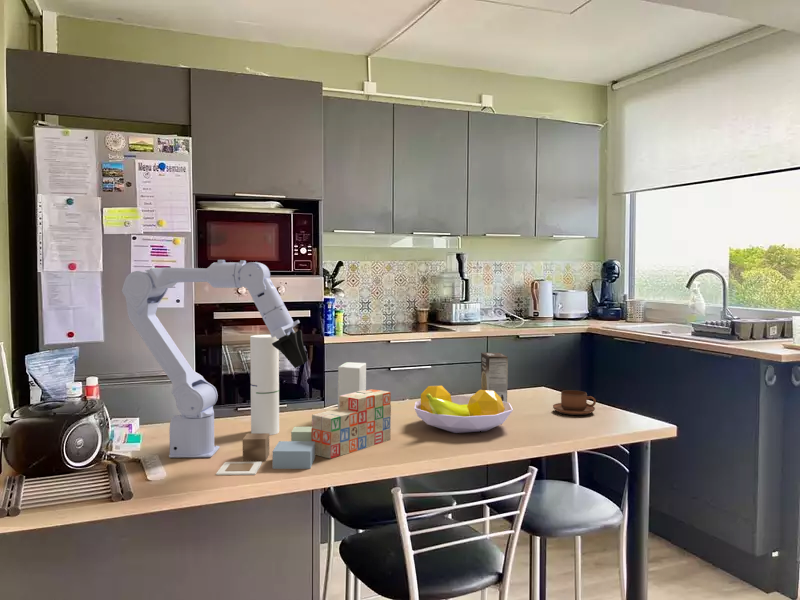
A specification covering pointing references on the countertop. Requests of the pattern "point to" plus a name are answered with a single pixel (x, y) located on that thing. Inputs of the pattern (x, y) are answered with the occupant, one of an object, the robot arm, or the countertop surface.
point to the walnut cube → (256, 447)
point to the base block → (294, 455)
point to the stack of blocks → (353, 423)
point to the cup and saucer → (574, 403)
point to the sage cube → (301, 434)
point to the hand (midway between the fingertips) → (301, 364)
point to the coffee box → (494, 373)
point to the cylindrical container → (264, 384)
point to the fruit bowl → (462, 410)
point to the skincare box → (351, 378)
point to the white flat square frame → (239, 468)
